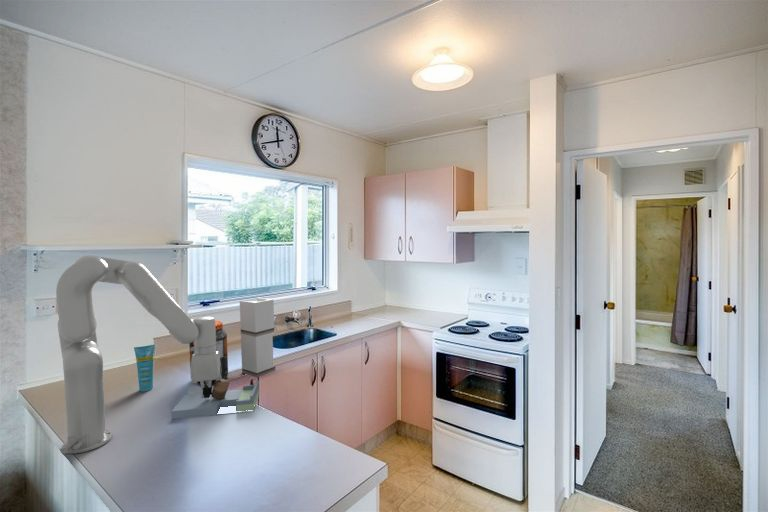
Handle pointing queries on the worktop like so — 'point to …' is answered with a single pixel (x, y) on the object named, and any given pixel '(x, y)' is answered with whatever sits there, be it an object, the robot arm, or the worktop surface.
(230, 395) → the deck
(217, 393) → the brown wooden block
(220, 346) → the supplement tub
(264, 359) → the banded white pillar
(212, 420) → the worktop surface
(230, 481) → the worktop surface
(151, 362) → the tube
